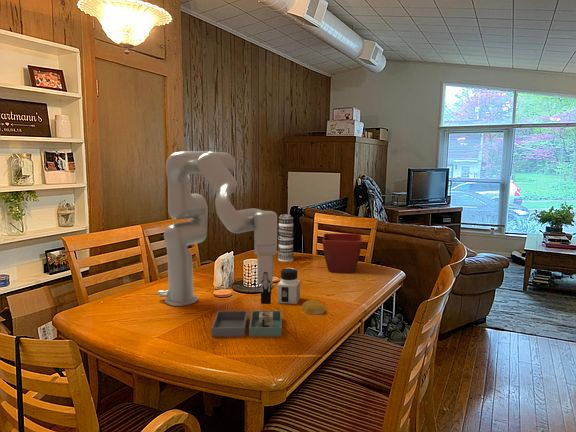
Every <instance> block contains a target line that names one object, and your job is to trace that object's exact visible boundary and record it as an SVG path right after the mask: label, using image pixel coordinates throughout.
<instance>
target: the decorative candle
mask: <svg viewBox="0 0 576 432" xmlns="http://www.w3.org/2000/svg"><path fill="white" fill-rule="evenodd" d="M278 218H279V219H278V222H279V223H278V224H277V240H278V246H277V254H278V256H277V257H278V261H279V262H287V263H288V262H292V261H294V250H295V249H294V243H293V242H294V241H293V240H294V238H295V236H294V235H295V234H294V232H295V226H294V217H293V216H292V215H291V214H285V213H284V214H280V216H278Z"/></svg>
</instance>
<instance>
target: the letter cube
mask: <svg viewBox="0 0 576 432" xmlns="http://www.w3.org/2000/svg"><path fill="white" fill-rule="evenodd" d="M259 327H273V312H260V313H259Z"/></svg>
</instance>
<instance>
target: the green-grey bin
mask: <svg viewBox="0 0 576 432" xmlns="http://www.w3.org/2000/svg"><path fill="white" fill-rule="evenodd" d="M260 312H273V327H259V313H260ZM282 316H283V315H282V310H251V313H250V321H249V326H248V336H249V338H250V337H251V338H255V337H257V338H258V337H260V338H261V337H265V338H266V337H268V338H269V337H275V338H276V337H279V338H280V337H283V327H282V326H283V325H282V323H283V318H282Z"/></svg>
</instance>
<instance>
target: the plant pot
mask: <svg viewBox="0 0 576 432" xmlns="http://www.w3.org/2000/svg"><path fill="white" fill-rule="evenodd" d="M321 242H322V249H323V254H324V259H325V263H326V268H327V271H328V272H329V273H348V274H349V273H351V274H355V272H356V269H357V266H358V263H359V259H360V255H361V251H362V250H361V249H362V243H363V240H362V234H359V233H358V234H357V233H324V234H323V237H322V241H321Z"/></svg>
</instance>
